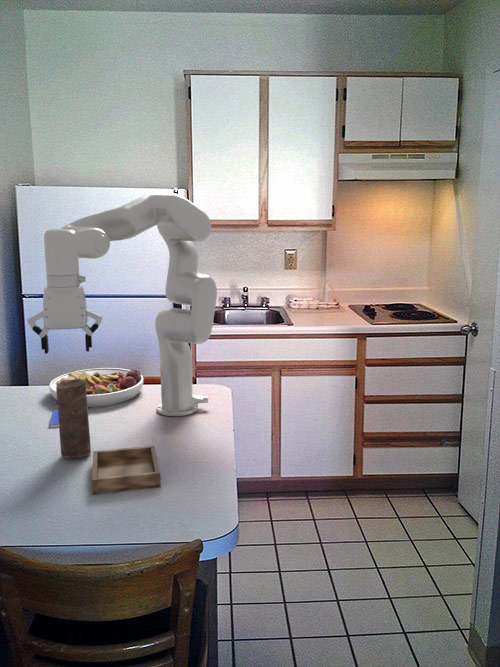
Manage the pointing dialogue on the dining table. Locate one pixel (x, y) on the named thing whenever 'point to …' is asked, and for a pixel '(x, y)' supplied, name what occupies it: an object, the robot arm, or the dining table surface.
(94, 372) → the bowl
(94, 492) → the wooden tray
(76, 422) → the candle
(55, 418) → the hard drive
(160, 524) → the dining table surface
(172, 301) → the robot arm
